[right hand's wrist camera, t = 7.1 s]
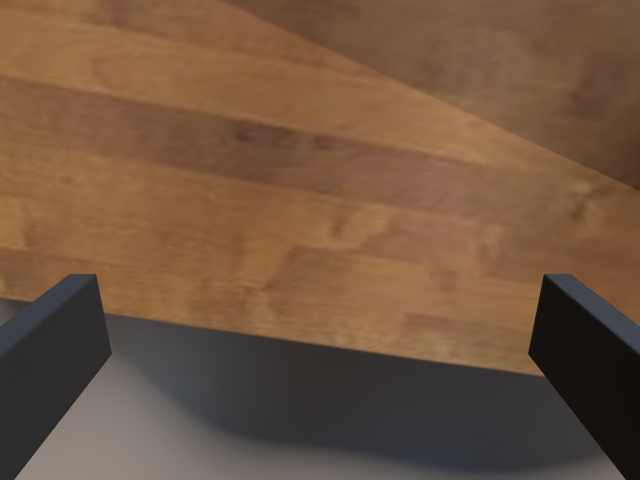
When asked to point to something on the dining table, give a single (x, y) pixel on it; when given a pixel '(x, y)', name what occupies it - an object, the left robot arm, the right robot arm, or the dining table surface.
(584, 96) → the dining table surface
